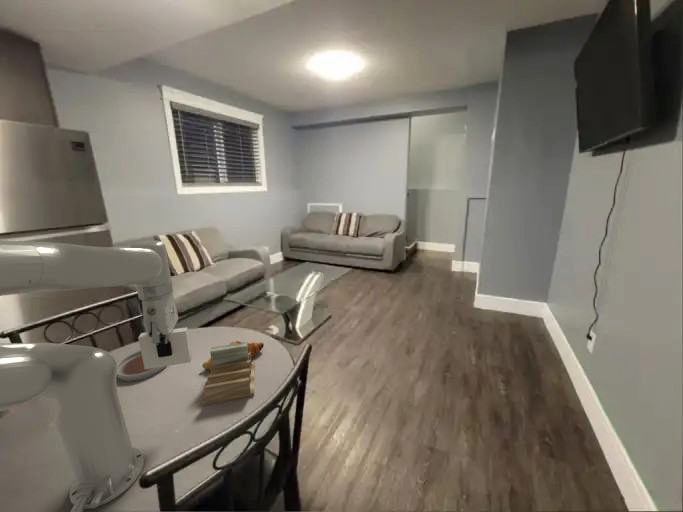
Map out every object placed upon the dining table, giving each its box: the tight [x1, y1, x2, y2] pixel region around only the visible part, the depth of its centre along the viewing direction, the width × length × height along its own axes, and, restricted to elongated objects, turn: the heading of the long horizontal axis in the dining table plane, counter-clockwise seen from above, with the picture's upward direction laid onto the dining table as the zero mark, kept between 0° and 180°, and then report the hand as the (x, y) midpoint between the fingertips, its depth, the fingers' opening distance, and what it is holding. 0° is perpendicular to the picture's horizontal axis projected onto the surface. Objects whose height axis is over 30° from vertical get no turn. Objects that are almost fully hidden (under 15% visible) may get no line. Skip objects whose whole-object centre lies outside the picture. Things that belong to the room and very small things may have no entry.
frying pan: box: [116, 349, 167, 382], centre depth 96 cm, size 17×3×28 cm
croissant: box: [201, 340, 265, 370], centre depth 101 cm, size 21×10×8 cm, turn 126°
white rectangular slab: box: [137, 327, 193, 369], centre depth 77 cm, size 2×11×10 cm, turn 106°
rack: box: [202, 341, 256, 406], centre depth 89 cm, size 15×14×10 cm
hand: (167, 352), depth 77 cm, fingers closed on white rectangular slab, 2 cm apart
